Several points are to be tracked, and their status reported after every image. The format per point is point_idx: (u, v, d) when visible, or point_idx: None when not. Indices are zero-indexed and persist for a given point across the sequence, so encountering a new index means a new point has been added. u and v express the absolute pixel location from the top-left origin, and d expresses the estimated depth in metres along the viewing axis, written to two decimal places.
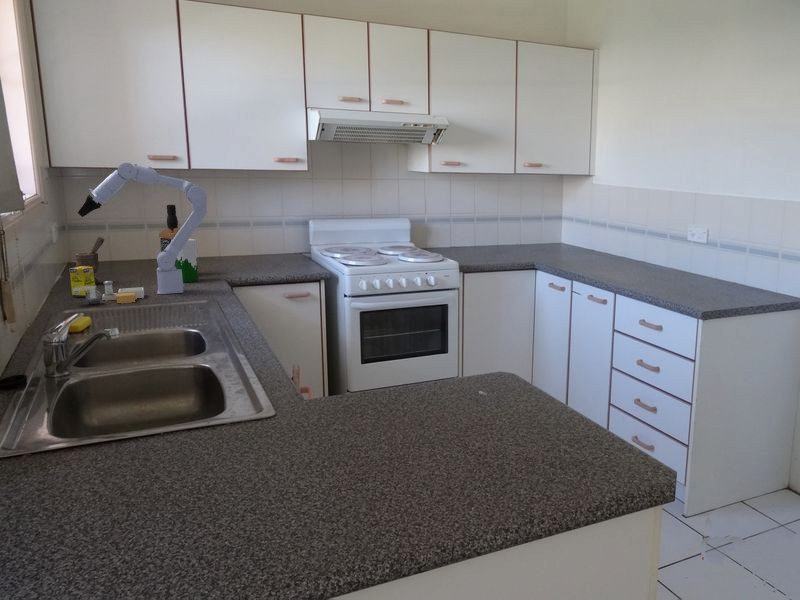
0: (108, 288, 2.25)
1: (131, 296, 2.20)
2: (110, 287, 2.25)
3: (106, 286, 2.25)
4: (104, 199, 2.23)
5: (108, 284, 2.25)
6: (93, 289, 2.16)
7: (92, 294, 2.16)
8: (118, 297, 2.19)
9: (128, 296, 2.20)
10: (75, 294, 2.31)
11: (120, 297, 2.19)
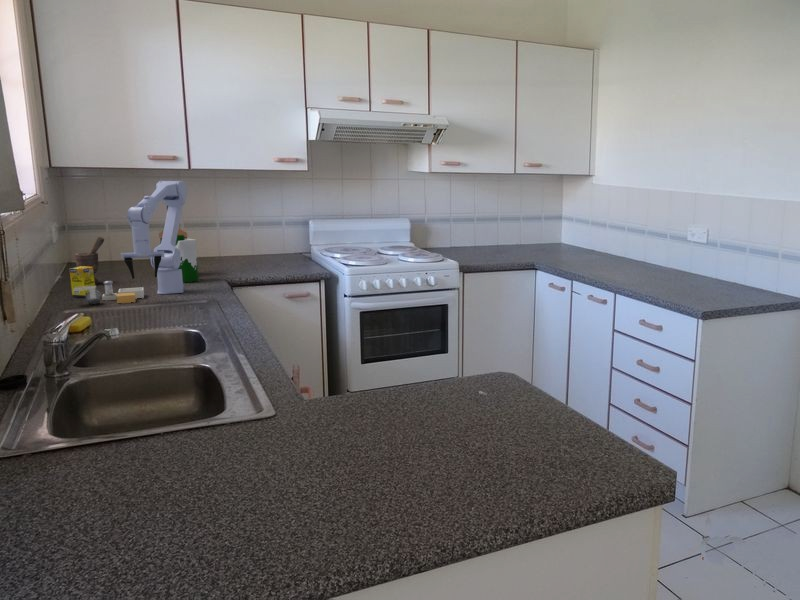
0: (108, 288, 2.25)
1: (131, 296, 2.20)
2: (110, 287, 2.25)
3: (106, 286, 2.25)
4: None
5: (108, 284, 2.25)
6: (93, 289, 2.16)
7: (92, 294, 2.16)
8: (118, 297, 2.19)
9: (128, 296, 2.20)
10: (75, 294, 2.31)
11: (120, 297, 2.19)
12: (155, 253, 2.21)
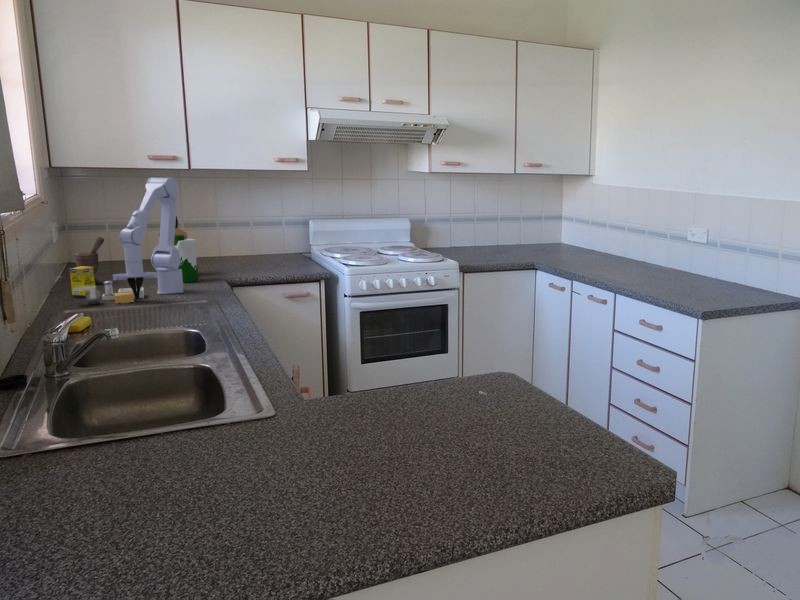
0: (108, 288, 2.25)
1: (130, 295, 2.20)
2: (110, 287, 2.25)
3: (106, 286, 2.25)
4: None
5: (108, 284, 2.25)
6: (93, 289, 2.16)
7: (92, 294, 2.16)
8: (117, 297, 2.19)
9: (127, 295, 2.20)
10: (75, 294, 2.31)
11: (119, 297, 2.19)
12: (147, 274, 2.22)
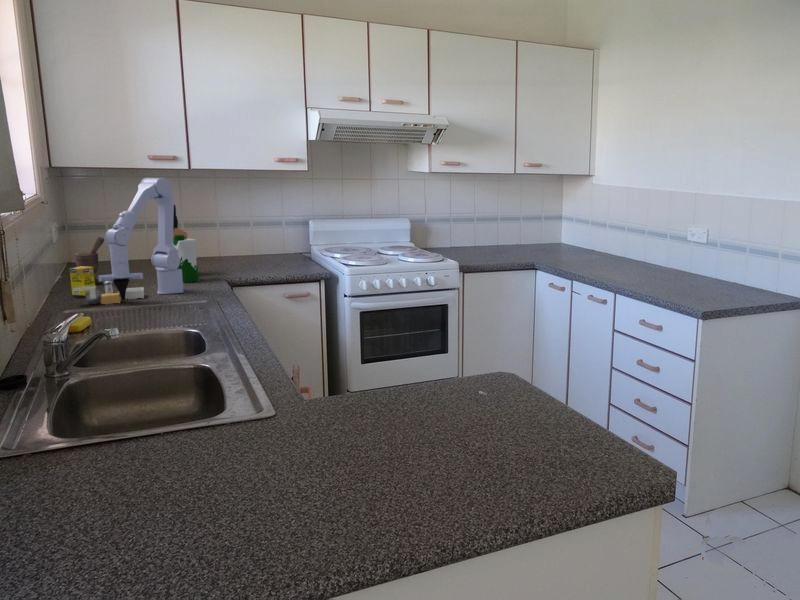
0: (108, 288, 2.25)
1: (116, 296, 2.19)
2: (110, 287, 2.25)
3: (106, 286, 2.25)
4: None
5: (108, 284, 2.25)
6: (93, 289, 2.16)
7: (92, 294, 2.16)
8: (103, 297, 2.17)
9: (113, 296, 2.18)
10: (75, 294, 2.31)
11: (105, 297, 2.18)
12: (133, 275, 2.20)
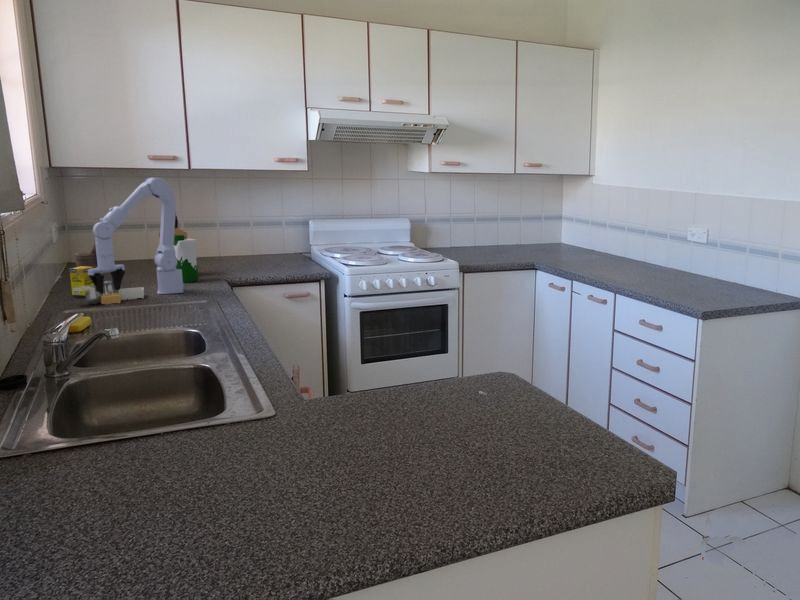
0: (108, 288, 2.25)
1: (116, 297, 2.19)
2: (110, 287, 2.25)
3: (106, 286, 2.25)
4: None
5: (108, 284, 2.25)
6: (93, 289, 2.16)
7: (92, 294, 2.16)
8: (103, 298, 2.17)
9: (113, 297, 2.19)
10: (75, 294, 2.31)
11: (105, 298, 2.18)
12: (119, 266, 2.28)
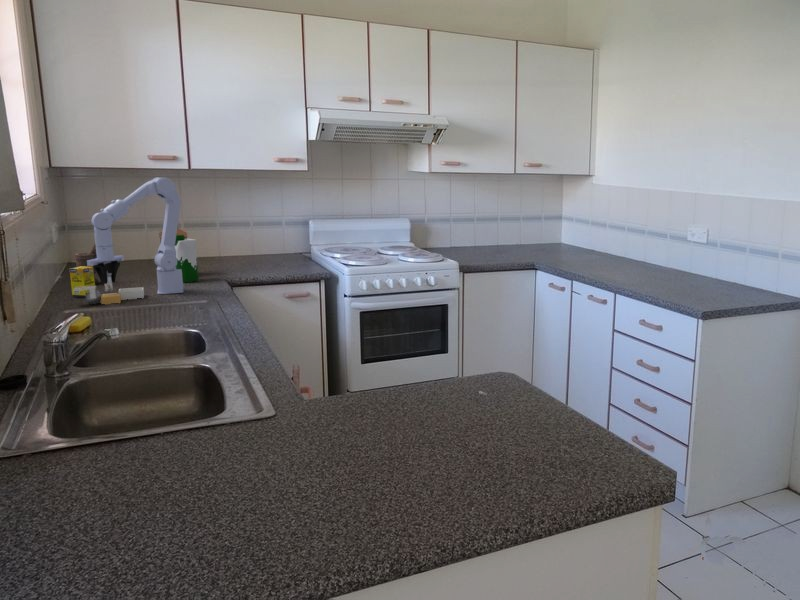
0: (107, 279, 2.24)
1: (116, 297, 2.19)
2: (109, 279, 2.25)
3: None
4: None
5: (107, 276, 2.24)
6: (93, 289, 2.16)
7: (92, 294, 2.16)
8: (103, 298, 2.17)
9: (113, 297, 2.19)
10: (75, 294, 2.31)
11: (105, 298, 2.18)
12: (118, 257, 2.27)
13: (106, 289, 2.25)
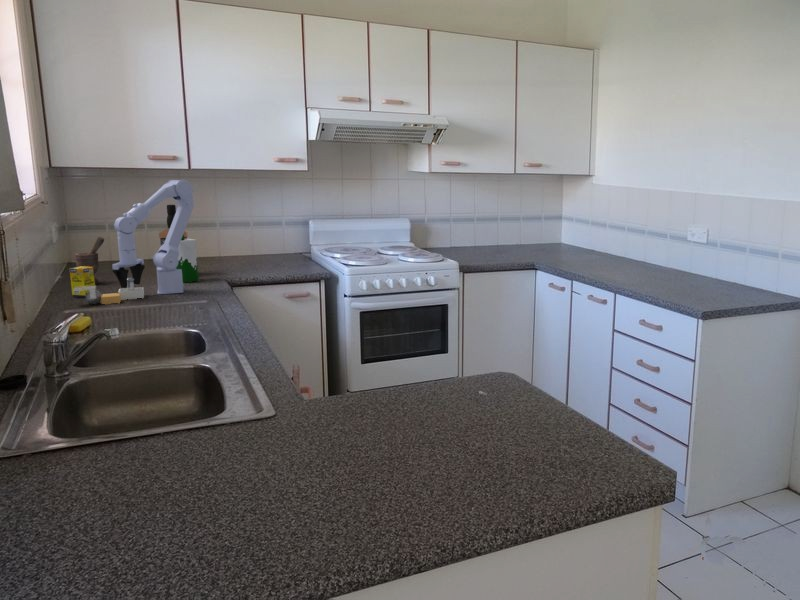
0: (130, 285, 2.27)
1: (116, 297, 2.19)
2: (132, 284, 2.28)
3: (128, 283, 2.27)
4: None
5: (130, 281, 2.27)
6: (93, 289, 2.16)
7: (92, 294, 2.16)
8: (103, 298, 2.17)
9: (113, 297, 2.19)
10: (75, 294, 2.31)
11: (105, 298, 2.18)
12: (139, 261, 2.31)
13: None
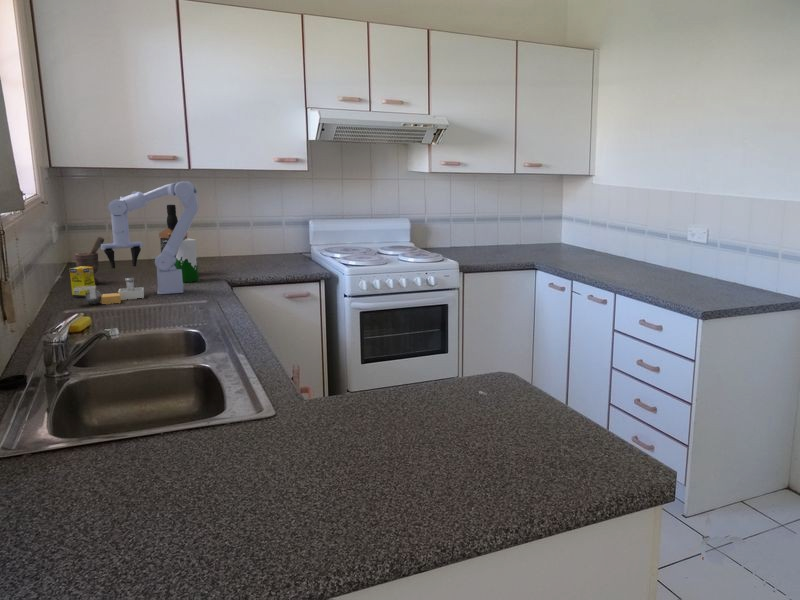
0: (130, 285, 2.27)
1: (116, 297, 2.19)
2: (132, 284, 2.28)
3: (128, 283, 2.27)
4: None
5: (130, 281, 2.27)
6: (93, 289, 2.16)
7: (92, 294, 2.16)
8: (103, 298, 2.17)
9: (113, 297, 2.19)
10: (75, 294, 2.31)
11: (105, 298, 2.18)
12: (135, 243, 2.34)
13: None
